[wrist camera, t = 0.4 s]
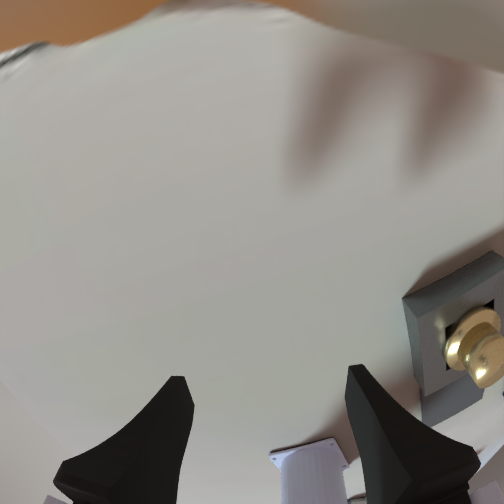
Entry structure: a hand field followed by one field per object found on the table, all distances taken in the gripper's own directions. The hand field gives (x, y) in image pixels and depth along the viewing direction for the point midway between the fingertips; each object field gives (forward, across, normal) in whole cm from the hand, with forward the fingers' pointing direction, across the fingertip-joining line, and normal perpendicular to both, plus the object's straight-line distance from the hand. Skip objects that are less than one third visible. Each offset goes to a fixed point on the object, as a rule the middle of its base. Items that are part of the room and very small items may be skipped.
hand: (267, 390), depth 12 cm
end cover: (+10, -17, +5) cm, 20 cm away
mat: (+10, -21, +17) cm, 28 cm away
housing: (+10, -17, +5) cm, 20 cm away
